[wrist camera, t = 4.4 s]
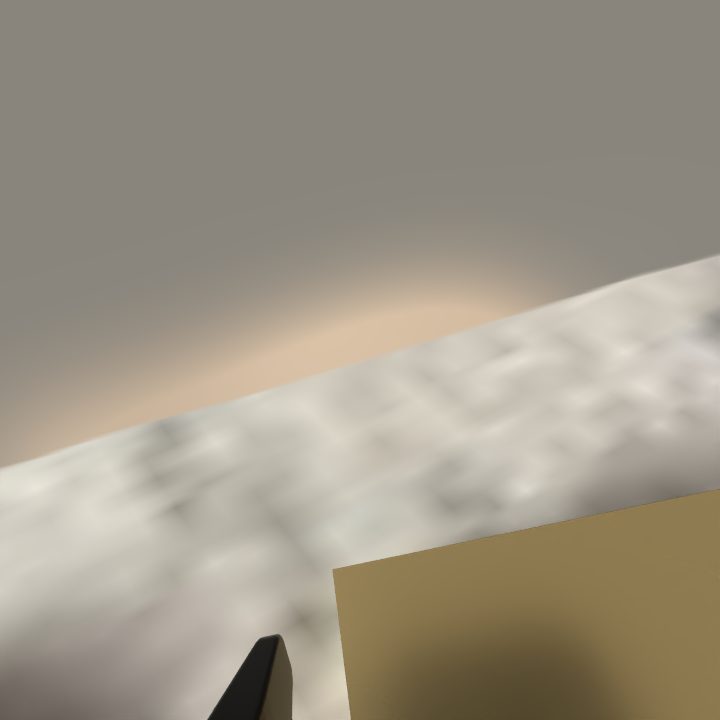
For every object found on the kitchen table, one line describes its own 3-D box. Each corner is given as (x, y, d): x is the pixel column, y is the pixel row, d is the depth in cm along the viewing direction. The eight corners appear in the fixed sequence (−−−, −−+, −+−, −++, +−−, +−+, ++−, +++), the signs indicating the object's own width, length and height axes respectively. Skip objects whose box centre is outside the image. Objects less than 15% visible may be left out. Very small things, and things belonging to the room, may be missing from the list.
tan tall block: (566, 733, 11) (1483, 1507, 2) (409, 766, 11) (468, 1768, 2) (506, 556, 14) (750, 477, 4) (377, 583, 13) (327, 564, 4)
